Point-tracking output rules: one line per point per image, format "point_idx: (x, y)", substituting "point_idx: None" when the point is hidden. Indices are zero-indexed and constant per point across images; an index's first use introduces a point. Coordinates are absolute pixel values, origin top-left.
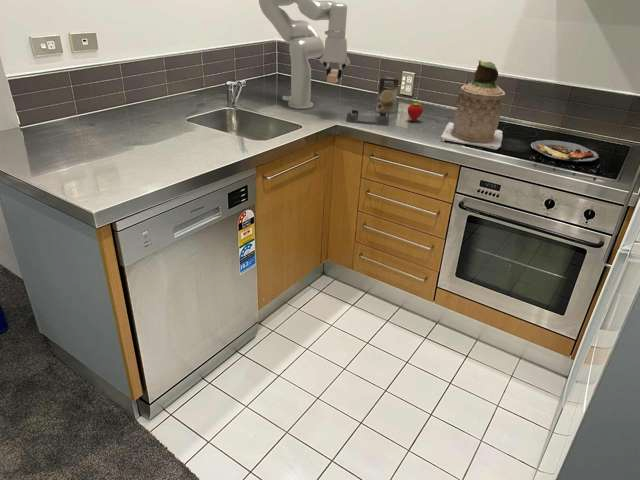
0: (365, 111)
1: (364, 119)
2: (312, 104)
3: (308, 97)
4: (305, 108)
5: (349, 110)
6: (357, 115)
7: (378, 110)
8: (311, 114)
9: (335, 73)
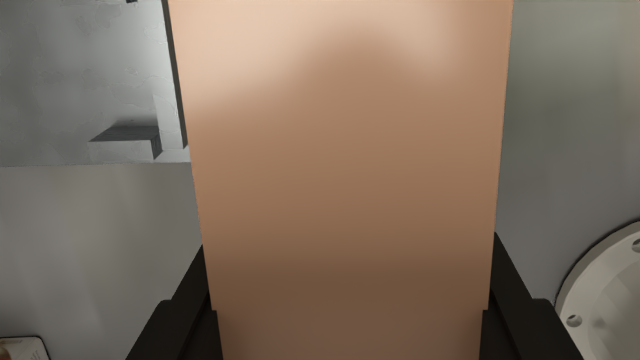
0: (117, 317)
1: (18, 30)
2: (564, 321)
3: (637, 335)
4: (617, 232)
5: (167, 112)
6: (113, 127)
7: (19, 342)
8: (546, 87)
9: (287, 290)
